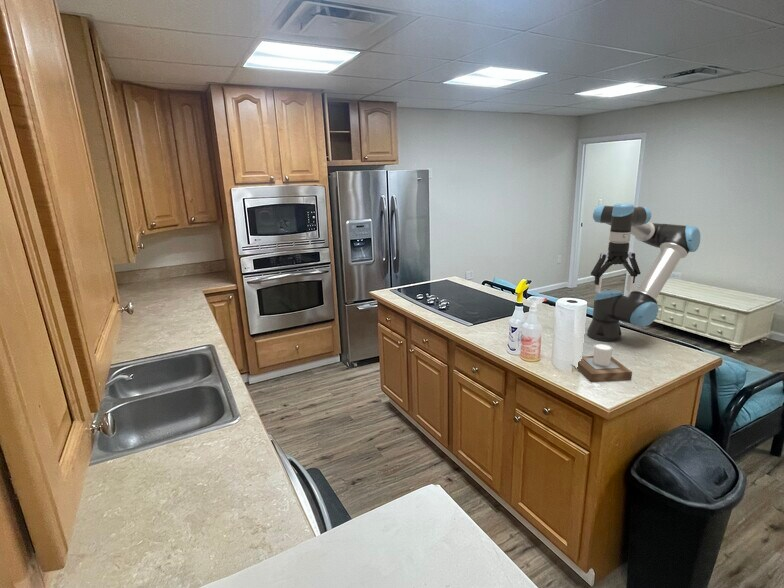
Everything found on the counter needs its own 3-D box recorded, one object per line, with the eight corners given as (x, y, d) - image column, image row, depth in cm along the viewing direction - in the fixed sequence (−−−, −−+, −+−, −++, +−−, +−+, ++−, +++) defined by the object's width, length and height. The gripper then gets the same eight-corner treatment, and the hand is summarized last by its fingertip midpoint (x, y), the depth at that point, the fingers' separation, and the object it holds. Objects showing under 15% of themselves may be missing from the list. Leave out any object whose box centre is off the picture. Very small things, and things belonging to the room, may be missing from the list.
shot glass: (594, 357, 174) (596, 342, 172) (612, 362, 169) (614, 345, 168) (589, 363, 169) (591, 347, 167) (608, 368, 164) (610, 351, 162)
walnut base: (608, 362, 178) (609, 353, 177) (631, 380, 163) (632, 370, 162) (571, 364, 177) (572, 355, 176) (590, 382, 162) (591, 372, 161)
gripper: (594, 244, 169) (589, 295, 175) (654, 242, 170) (647, 292, 176) (585, 241, 177) (580, 290, 182) (642, 239, 178) (636, 287, 183)
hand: (613, 291), depth 179 cm, fingers open, 13 cm apart
